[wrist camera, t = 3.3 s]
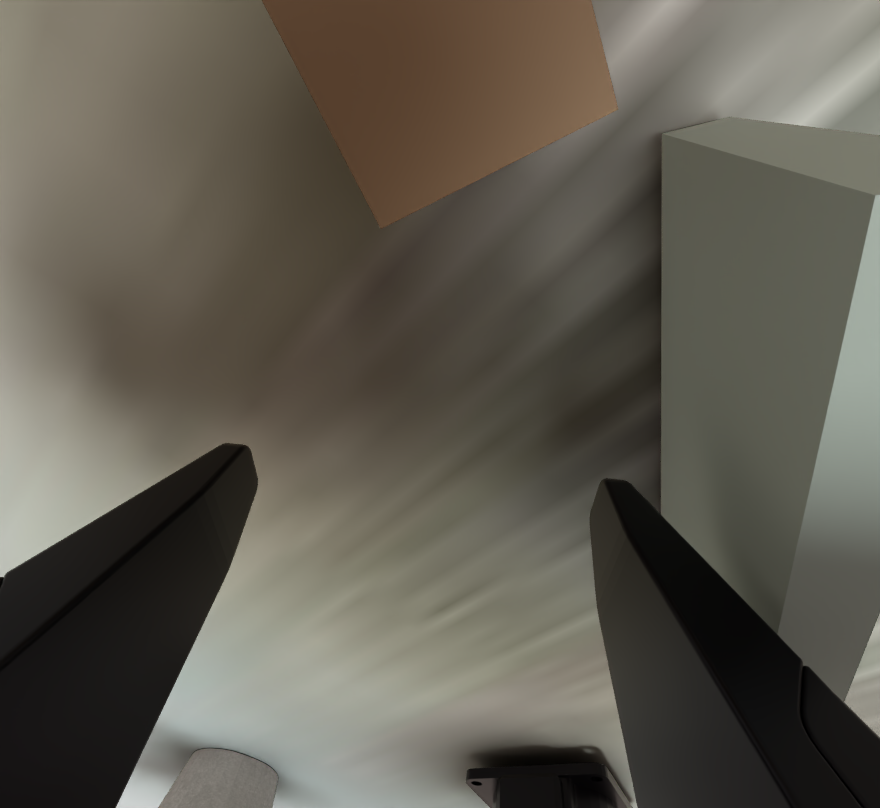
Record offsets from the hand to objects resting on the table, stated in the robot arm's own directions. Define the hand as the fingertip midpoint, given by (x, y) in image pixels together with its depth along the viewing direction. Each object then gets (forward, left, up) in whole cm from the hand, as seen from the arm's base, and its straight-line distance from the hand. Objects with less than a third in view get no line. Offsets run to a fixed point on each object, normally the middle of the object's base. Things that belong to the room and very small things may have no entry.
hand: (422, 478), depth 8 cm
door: (-10, -3, -4) cm, 11 cm away
